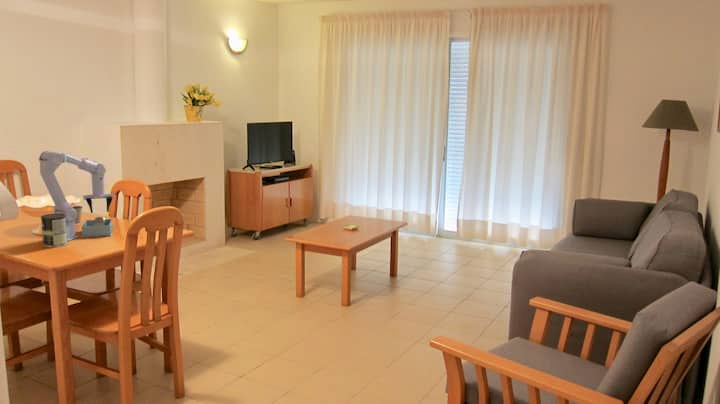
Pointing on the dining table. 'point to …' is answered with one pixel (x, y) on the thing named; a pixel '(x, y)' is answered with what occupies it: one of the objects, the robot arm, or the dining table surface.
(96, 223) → the walnut cube
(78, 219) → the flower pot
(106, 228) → the tote
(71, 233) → the robot arm
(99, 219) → the grey cylinder
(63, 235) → the coffee can
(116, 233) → the dining table surface
